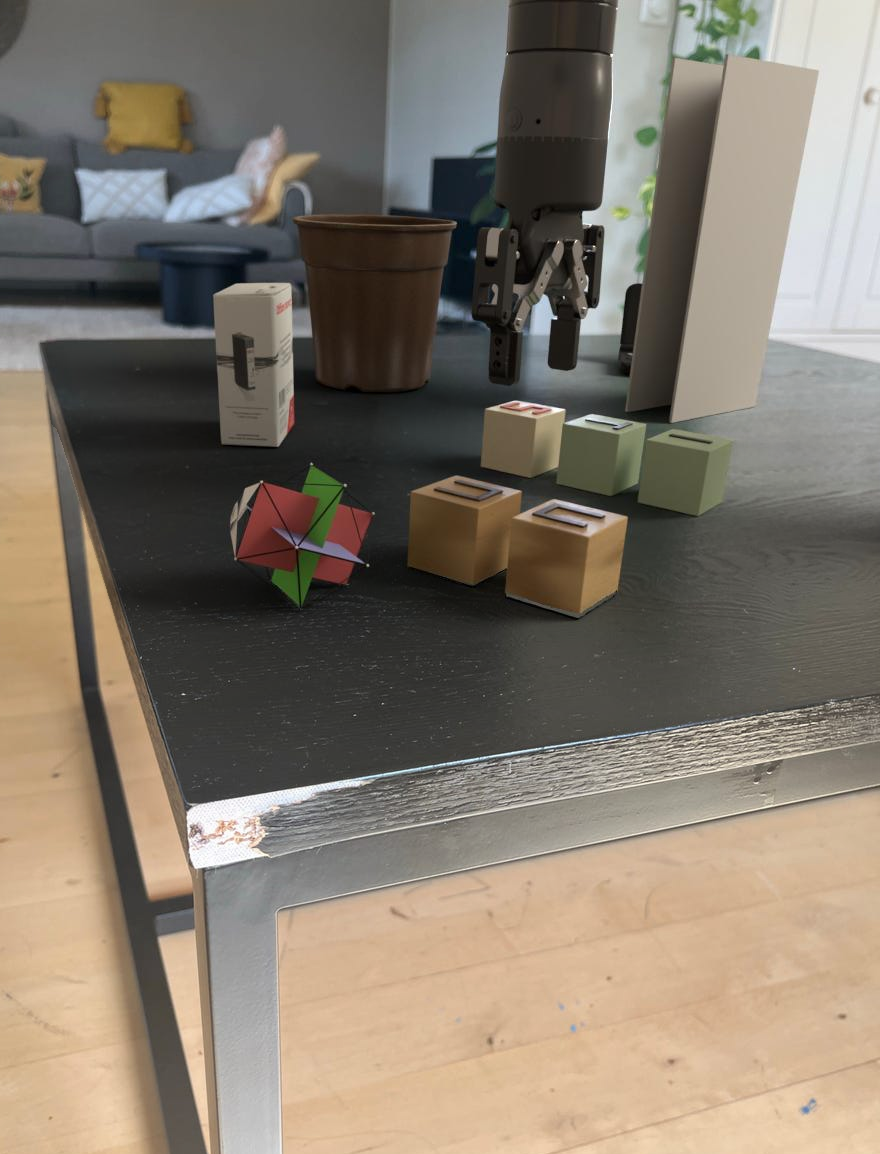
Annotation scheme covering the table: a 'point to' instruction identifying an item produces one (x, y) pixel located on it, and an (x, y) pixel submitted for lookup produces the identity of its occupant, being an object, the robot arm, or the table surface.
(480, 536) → the tan cube
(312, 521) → the geometric puzzle
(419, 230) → the plant pot
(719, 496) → the letter i
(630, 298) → the game console
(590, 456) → the green cube
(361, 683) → the table surface
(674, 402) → the brochure
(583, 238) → the robot arm
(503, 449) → the cream letter block
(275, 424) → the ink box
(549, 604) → the letter u
